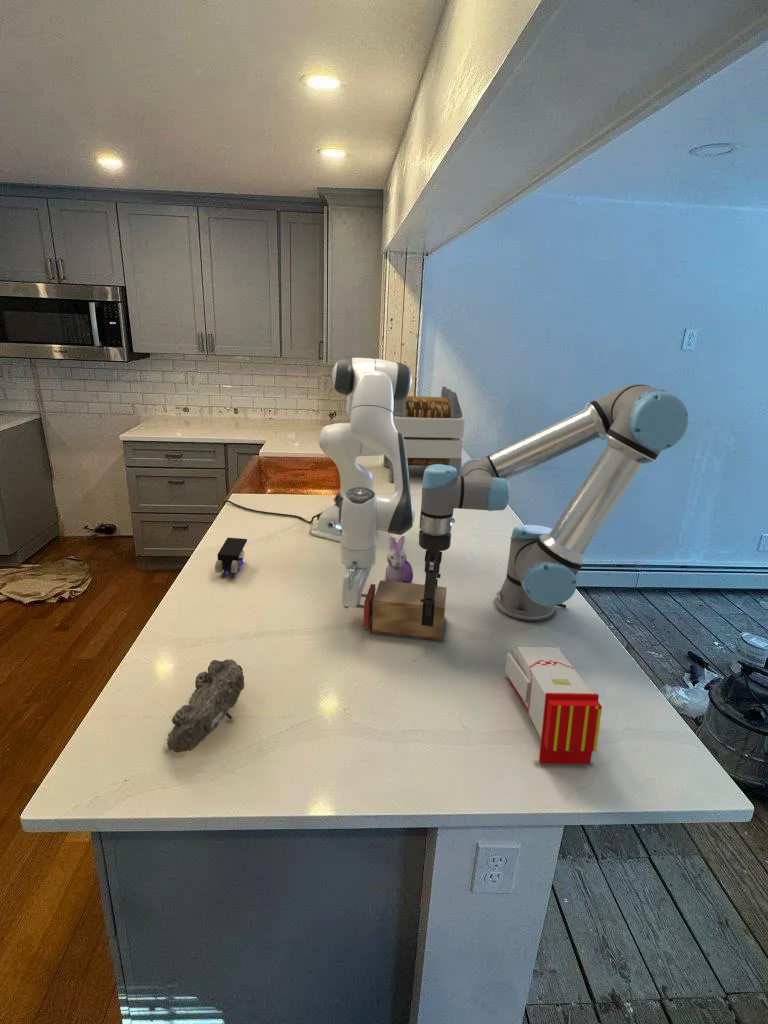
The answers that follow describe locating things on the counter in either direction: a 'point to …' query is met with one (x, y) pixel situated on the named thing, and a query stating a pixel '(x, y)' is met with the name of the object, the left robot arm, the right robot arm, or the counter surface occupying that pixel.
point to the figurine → (398, 563)
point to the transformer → (430, 430)
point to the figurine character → (230, 556)
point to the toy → (556, 704)
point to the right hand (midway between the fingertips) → (429, 613)
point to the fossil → (206, 705)
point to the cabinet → (406, 611)
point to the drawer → (367, 605)
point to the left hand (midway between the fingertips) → (356, 604)
